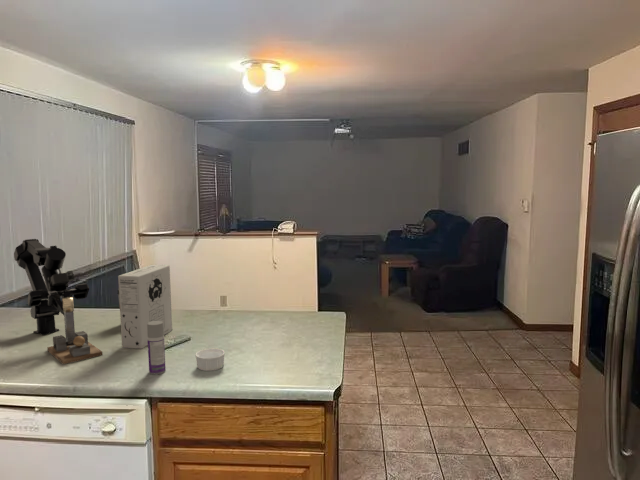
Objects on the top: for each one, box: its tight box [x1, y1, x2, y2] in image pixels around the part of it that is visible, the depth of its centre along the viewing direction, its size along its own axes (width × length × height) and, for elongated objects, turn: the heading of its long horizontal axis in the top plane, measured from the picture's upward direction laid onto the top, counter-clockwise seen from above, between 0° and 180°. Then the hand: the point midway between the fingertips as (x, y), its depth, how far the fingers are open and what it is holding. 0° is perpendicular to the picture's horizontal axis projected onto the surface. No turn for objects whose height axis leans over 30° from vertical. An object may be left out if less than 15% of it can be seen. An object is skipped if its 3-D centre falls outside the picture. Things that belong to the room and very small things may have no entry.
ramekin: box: [195, 347, 226, 372], centre depth 158 cm, size 9×9×4 cm
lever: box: [61, 296, 76, 346], centre depth 172 cm, size 3×4×16 cm
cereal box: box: [117, 264, 173, 350], centre depth 184 cm, size 22×8×25 cm, turn 168°
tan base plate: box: [46, 330, 103, 365], centre depth 170 cm, size 17×12×7 cm
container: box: [147, 321, 167, 375], centre depth 153 cm, size 5×5×15 cm
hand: (65, 314), depth 174 cm, fingers closed
